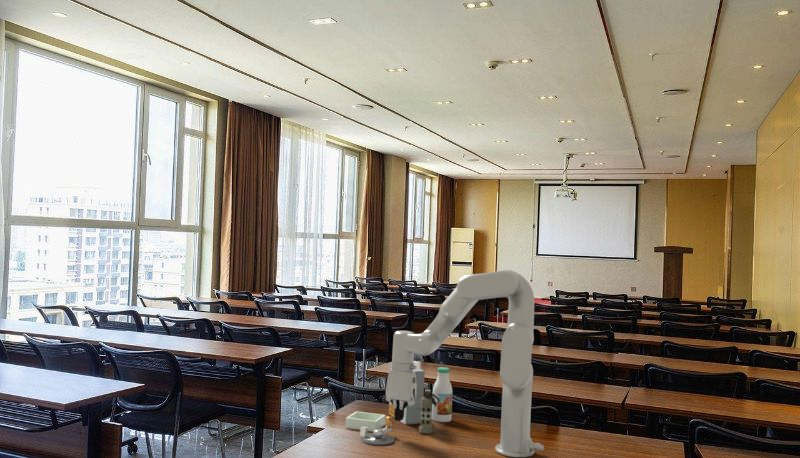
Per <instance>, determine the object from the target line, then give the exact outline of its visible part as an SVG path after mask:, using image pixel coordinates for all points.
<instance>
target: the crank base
mask: <svg viewBox="0 0 800 458" xmlns="http://www.w3.org/2000/svg"><path fill="white" fill-rule="evenodd" d="M359 431H360V432H359V434H360V435H359V436H360V437H361V442H362V443H363V444H365V445H371V446H388V445H392V444H393V443H394V442H395V437H394V436H392V435H391V434H389V433H384V434H383V437H381V438H376V437H373V432H371V433H369V431H368V427H364V426H363V427H361V430H359Z"/></svg>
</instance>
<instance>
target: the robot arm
mask: <svg viewBox="0 0 800 458" xmlns="http://www.w3.org/2000/svg"><path fill="white" fill-rule="evenodd" d="M496 298H507V299H508V309H507V324H506V325H507V326H506V330H505V331H504V332H503V335H502V339H501V351H500V365H499V368H500V369H499V375H500V377H499V378H500V381H501V382H502V392H501V393H502V395H501V416H500V419H501V420H500V440H499V441H500V443H497V444H496V445H495V448H494V450H495V451H496V453H498V454H499V455H503V456H507V457H512V458H527V457H532V456H533V455H534V454H535V450H536V451H540V452H543V451H544V444H541V442H534V441H532V437H531V418H532V416H531V412H532V411H531V410H532V394H533V393H532V392H533V391H532V390H533V381H534V380H533V378H534V368H533V365H532V354H533V353H532V351H533V344H534V340H535V338H534V337H535V336H534V327H535V326H534V325H535V322H534V321H535V296H534V292H533V289H532V286H531V284H530V282H529V281H528V280H527V279H526V278H525V277H524V276H523V275H521V274H520V273H518V272H516V271H514V270H512V269H511V270H510V269H504V270H496V271H490V272H483V273H482V272H481V273H469V274H465V275H463V276H462V277H460V278H459V280H458V281H457V284H456V287H454V289H453V290H452V292H451V293H450V294H449V296H447V297H446V299H445V300H444V301H443V302H442V303H441V305H440V308H439V310H438V314H437V315H436V317H435V318H434V319H433V321H432V322H431V323H430V324H429V326H428V327H427V328H426V329H425V330H424V331H423V332H421V333H415V332H413V331H411V330H410V331H409V330H396V331H395V332H393V333H394V334H393V339H392V355H391V358H392V359H391V364H392V368H391V367H390V369H389V371H388V375H387V379H386V387H385V401H387V402H388V403H389V402H391V403H392V405H393V407H394V409H395V412H394V417H395V418H394V417H393V418H394V421H396V422H400V421H401V420H403V418H404V409H405V408H406V407H407V406H410V405H414V404H415V402H414V399H416V393H417V386H416V374H415V372H414V371H413V370H414V369H415V370H416V368H418V367H417V365H415V362H414V360H415V355H417V356H422V357H425V356H429V355H431V354H432V353H434V352H435V351H437V350H438V349H439V348H440V347H441V345H442V344H443V343H444V342H445V341H446V340H447V338H448V337H449V336H450V334H451V333H452V332H453V331H454V330H455V328H456V327H457V326H458V325H459V324H460V323H461V322H462V320H463V319H464V318H465V317H466V315H467V314H468V313H469V312H470V311H471V309H472V308H473V307H474V306H475V305H476V303H478V301H479V300H480V301H481V300H488V299H496ZM400 401H401V402H400Z"/></svg>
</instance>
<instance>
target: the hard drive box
mask: <svg viewBox="0 0 800 458" xmlns="http://www.w3.org/2000/svg"><path fill="white" fill-rule="evenodd" d="M391 368H392V363H390V369H391ZM413 371H414V372H415V374H416V386H417V393H416V399H414V402H415V404H414V405H410V406H407V407H406V408H405V409H404V418H403V420H401V421H399V422H400V423H401V424H404V425H407V426H408V425H416V424H421V403H420V398H421V397H425V393H424V392H425V377H426V376H425V370H423V369H420V368H418V367H417V368H416V370H415V369H414V370H413ZM400 402H401V401H400ZM388 403H389V404H388V405H389V406H388V415H389V416H391V417H392V418H394V419H395V417H394V412H395V409H394V407H393V405H392V403H391V402H389V401H388Z"/></svg>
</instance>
